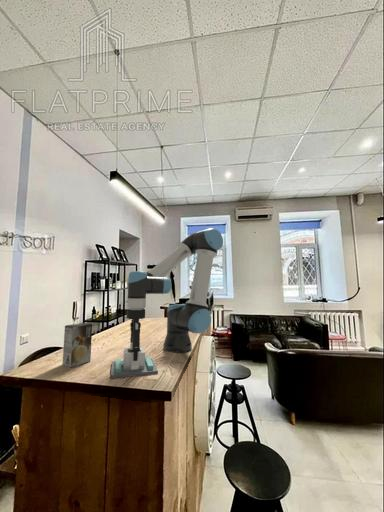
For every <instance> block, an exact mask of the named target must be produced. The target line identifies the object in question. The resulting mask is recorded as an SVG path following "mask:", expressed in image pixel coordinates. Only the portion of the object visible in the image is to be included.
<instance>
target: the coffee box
mask: <svg viewBox="0 0 384 512" xmlns="http://www.w3.org/2000/svg"><path fill="white" fill-rule="evenodd" d="M92 334H93V323H88V322H79V323H74V324H67V325H64V335H63V336H64V337H63V351H62V352H63V354H62V362H61V363H62V364H61V365H62V366H66V367H68V368H73V367H76V366H79V365H82V364H85V363H89V362H91V360H92V359H91V358H92V356H91V355H92V336H93V335H92Z"/></svg>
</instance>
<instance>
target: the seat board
mask: <svg viewBox="0 0 384 512" xmlns="http://www.w3.org/2000/svg"><path fill="white" fill-rule="evenodd" d="M130 344H131V350H132V342H130ZM135 348H138V347H135ZM155 363H156V362H155V361H154V359H153V357H150V356H145V368H144V369H135V370H123V360H122V358H116V359H115V360H113V361H111V371H110V372H111V373H110V379H119V378H127V377H139V376H147V375H157V374H159V370H158V368H157V364H155Z"/></svg>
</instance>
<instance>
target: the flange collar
mask: <svg viewBox="0 0 384 512" xmlns="http://www.w3.org/2000/svg"><path fill="white" fill-rule="evenodd" d="M130 350H131V348H130V347H126V348H123V355H122V361H123V370H131V359H132V352H130ZM145 357H146V351H145V348H144V347H143V346H140V351H139V369H144V368H145Z"/></svg>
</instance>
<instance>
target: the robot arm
mask: <svg viewBox="0 0 384 512" xmlns="http://www.w3.org/2000/svg"><path fill="white" fill-rule="evenodd" d="M223 246H224V237H223V235H222V233H221V231H220V230H218V229H216V228H212V227H210V228H207V229H204V230H199V231H195V232H193V233H190V235H188V236H187V237H185V238H184V240H182V241H181V242H179V244H178V245H177V248H175V249H174V250H173V251H172V252H171V253H170V254H168V255H167V256H166V257H164V258H163V259H162V260H160V262H158V263H157V264H156V265H155V266H154V267H153V268H152V269H150V270H149V271H147V272H146V271H134V270H133V271H130V272H129V273H128V278H127V300H125V303H126V308H127V309H126V319H128V320H130V321H131V322H130V338H129V340H130V342H129V343H130V346H129V348H131V342H132V350H130V352H132V359H131V370H135V369H139V351H140V347H141V346H140V345H141V339H140V338H141V328H142V327H141V326H142V324H141V322H140V320H143V319H145V318H146V307H147V306H146V305H147V295H159V294H160V295H163V294H164V295H165V294H169V293H170V292H171V289H172V280H171V279H170V278H169V277H167V276H168V275H169V274H170V273H171V272H172V271H174V269H175V268H177V267H178V266H179V265H180V264H181V263H182V262H183V261H185V260H186V259H188V258H189V259H190V258H191V256H193V255H195V254H196V255H197V257H196V261H195V267H194V271H193V278H192V284H191V288H190V294H189V300H186V302H185V303H182V304H181V303H180V304H171V305H168V306H167V310H166V311H167V312H166V315H167V316H166V317H167V318H166V319H167V320H166V335H165V339H164V341H163V347H162V348H163V350H164V352H165V351H166V352H169V353H185V351H186V352H189V351H192V348H193V346H192V341H191V337H190V333H191V334H203V333H205V332H206V331H207V330H209V328H210V326H211V323H212V315H211V313H210V311H209V305H208V304H207V299H208V293H209V287H210V279H211V274H212V269H213V268H212V267H213V262H214V258H215V257H217V255H218V251H219V250H221V248H223ZM135 347H138V348H135Z"/></svg>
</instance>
